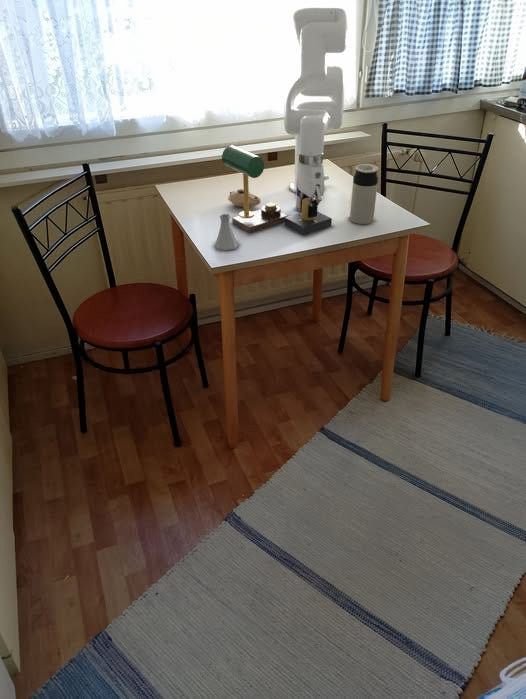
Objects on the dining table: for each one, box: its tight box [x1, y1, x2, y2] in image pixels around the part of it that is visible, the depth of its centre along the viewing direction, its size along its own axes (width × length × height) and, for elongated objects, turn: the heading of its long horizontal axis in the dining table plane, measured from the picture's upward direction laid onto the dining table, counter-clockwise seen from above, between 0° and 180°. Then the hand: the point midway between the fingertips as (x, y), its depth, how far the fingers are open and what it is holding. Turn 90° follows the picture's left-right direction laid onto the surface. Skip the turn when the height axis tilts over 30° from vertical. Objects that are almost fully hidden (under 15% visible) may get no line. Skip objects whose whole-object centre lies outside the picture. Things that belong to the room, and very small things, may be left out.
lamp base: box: [231, 204, 289, 234], centre depth 195 cm, size 16×10×4 cm, turn 126°
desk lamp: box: [221, 145, 265, 218], centre depth 184 cm, size 7×14×21 cm, turn 36°
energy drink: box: [295, 176, 301, 213], centre depth 201 cm, size 5×5×12 cm
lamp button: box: [264, 202, 277, 211], centre depth 195 cm, size 4×4×2 cm
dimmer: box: [284, 211, 333, 236], centre depth 192 cm, size 12×10×3 cm
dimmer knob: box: [302, 198, 315, 220], centre depth 189 cm, size 4×4×6 cm
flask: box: [214, 213, 239, 251], centre depth 178 cm, size 7×7×10 cm
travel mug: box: [349, 163, 379, 225], centre depth 192 cm, size 8×8×18 cm
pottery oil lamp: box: [227, 188, 261, 208], centre depth 206 cm, size 9×12×7 cm
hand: (308, 213), depth 190 cm, fingers closed on dimmer knob, 4 cm apart
